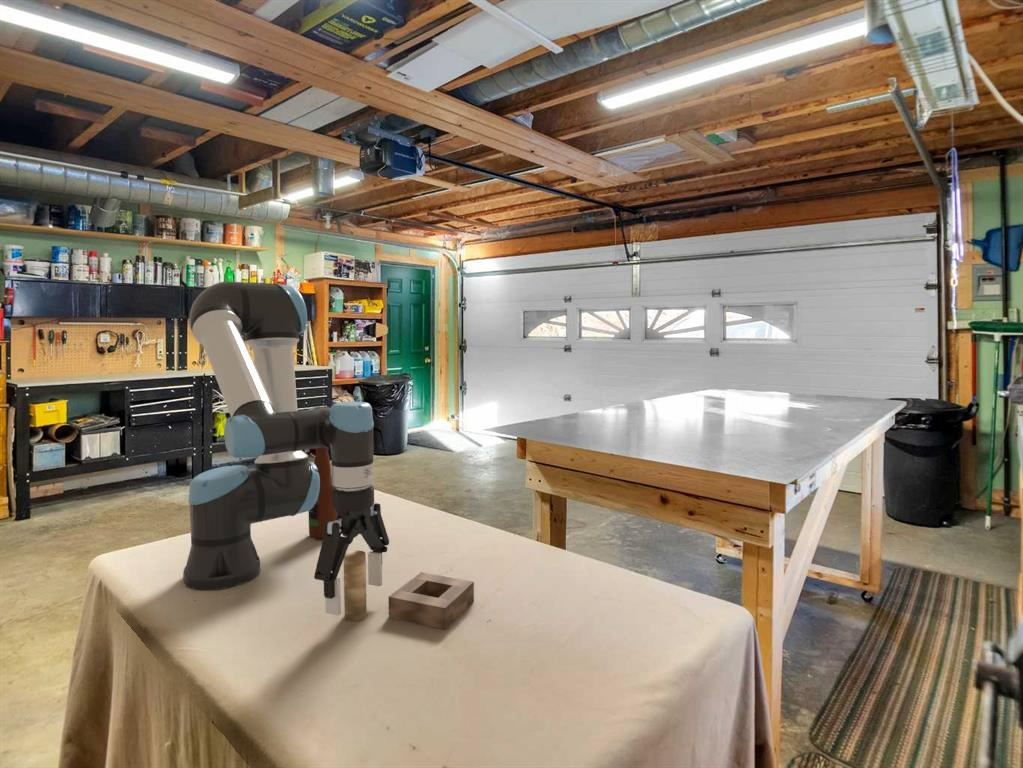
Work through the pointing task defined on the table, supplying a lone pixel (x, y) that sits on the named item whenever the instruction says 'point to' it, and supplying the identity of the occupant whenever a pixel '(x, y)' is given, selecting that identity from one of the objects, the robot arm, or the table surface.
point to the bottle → (322, 496)
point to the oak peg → (355, 585)
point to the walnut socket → (431, 600)
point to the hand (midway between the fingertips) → (355, 598)
